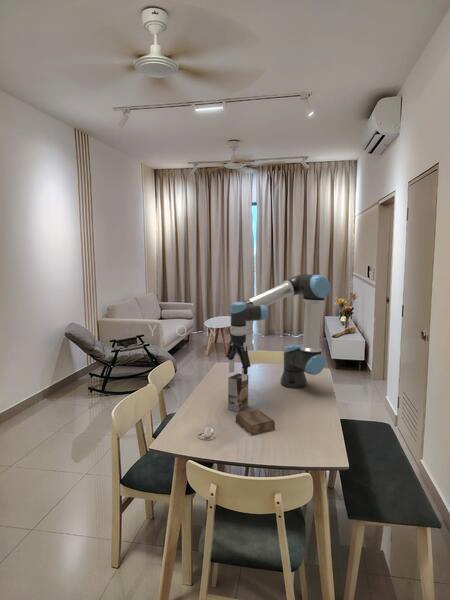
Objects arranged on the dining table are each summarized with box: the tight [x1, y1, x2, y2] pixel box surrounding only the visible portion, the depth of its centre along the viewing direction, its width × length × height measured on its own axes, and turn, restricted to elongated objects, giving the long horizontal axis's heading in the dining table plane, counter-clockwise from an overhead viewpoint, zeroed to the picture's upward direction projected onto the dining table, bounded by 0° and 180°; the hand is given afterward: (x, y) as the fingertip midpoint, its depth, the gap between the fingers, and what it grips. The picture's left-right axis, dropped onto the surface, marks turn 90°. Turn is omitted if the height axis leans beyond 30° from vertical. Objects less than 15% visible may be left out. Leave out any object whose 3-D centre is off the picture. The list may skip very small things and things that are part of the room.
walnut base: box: [235, 408, 276, 436], centre depth 171 cm, size 12×14×4 cm
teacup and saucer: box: [203, 426, 215, 438], centre depth 162 cm, size 9×8×4 cm
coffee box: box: [227, 373, 249, 412], centre depth 190 cm, size 9×6×16 cm
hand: (237, 376), depth 189 cm, fingers open, 13 cm apart
